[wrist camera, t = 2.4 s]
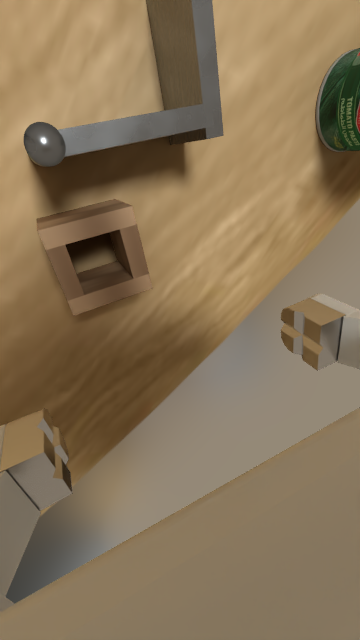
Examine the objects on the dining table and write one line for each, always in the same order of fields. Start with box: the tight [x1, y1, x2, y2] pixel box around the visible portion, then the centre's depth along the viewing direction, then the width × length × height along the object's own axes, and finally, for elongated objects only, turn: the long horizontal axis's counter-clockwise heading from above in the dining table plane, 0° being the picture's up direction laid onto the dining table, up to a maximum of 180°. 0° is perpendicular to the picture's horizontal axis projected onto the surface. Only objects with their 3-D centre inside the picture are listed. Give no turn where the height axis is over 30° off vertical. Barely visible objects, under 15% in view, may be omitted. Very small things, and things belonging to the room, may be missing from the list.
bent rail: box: [24, 0, 223, 167], centre depth 17 cm, size 12×8×8 cm
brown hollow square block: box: [37, 199, 152, 316], centre depth 22 cm, size 6×6×5 cm
